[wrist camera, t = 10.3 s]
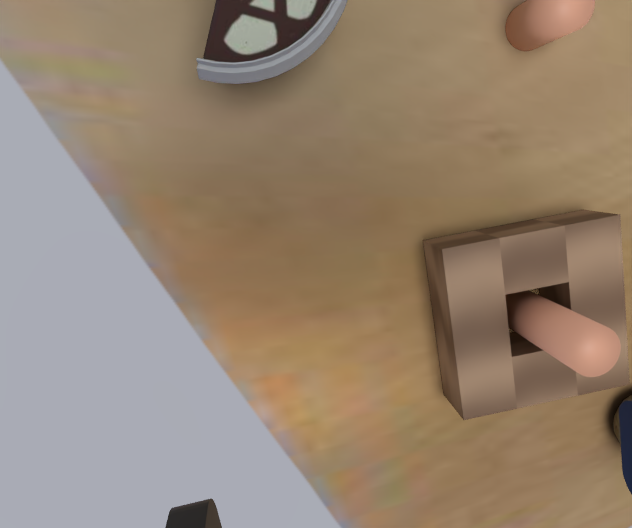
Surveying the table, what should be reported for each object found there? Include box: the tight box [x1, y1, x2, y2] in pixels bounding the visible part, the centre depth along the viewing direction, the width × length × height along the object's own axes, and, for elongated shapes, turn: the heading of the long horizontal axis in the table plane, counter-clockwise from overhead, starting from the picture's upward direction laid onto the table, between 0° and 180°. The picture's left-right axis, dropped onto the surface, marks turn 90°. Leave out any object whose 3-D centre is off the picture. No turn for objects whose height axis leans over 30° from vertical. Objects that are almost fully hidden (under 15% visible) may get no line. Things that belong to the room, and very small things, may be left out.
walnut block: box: [423, 210, 630, 420], centre depth 36 cm, size 12×12×4 cm
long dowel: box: [505, 290, 621, 377], centre depth 33 cm, size 3×3×10 cm
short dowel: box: [506, 0, 595, 51], centre depth 32 cm, size 3×3×5 cm
